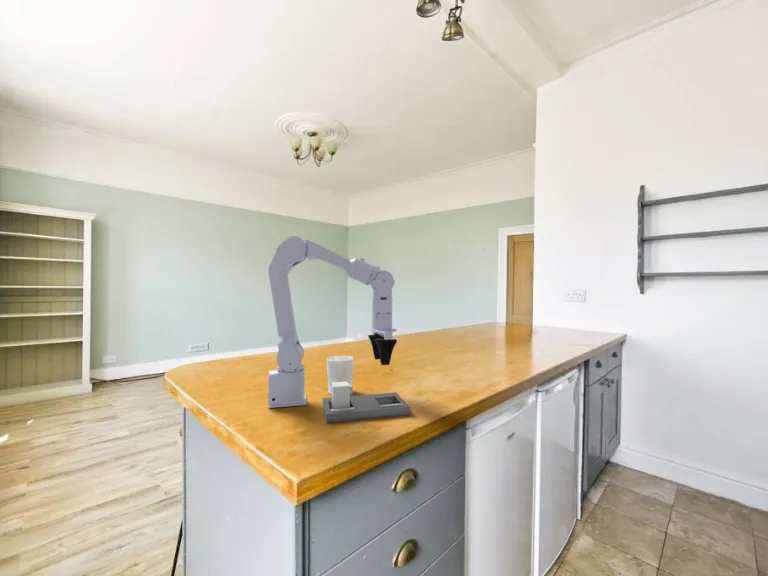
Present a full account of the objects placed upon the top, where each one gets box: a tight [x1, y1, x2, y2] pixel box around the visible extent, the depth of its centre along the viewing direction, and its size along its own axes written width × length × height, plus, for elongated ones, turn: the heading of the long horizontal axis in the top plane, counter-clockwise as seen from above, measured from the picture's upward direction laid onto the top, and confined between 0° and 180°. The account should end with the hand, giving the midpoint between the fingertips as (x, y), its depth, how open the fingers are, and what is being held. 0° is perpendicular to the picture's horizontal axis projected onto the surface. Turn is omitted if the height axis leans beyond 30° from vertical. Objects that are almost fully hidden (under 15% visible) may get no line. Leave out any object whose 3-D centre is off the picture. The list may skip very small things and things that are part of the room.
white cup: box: [326, 355, 355, 395], centre depth 103 cm, size 8×8×10 cm
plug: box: [331, 382, 354, 409], centre depth 86 cm, size 5×4×7 cm
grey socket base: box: [321, 392, 411, 424], centre depth 87 cm, size 20×12×2 cm, turn 104°
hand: (381, 361), depth 97 cm, fingers open, 7 cm apart
